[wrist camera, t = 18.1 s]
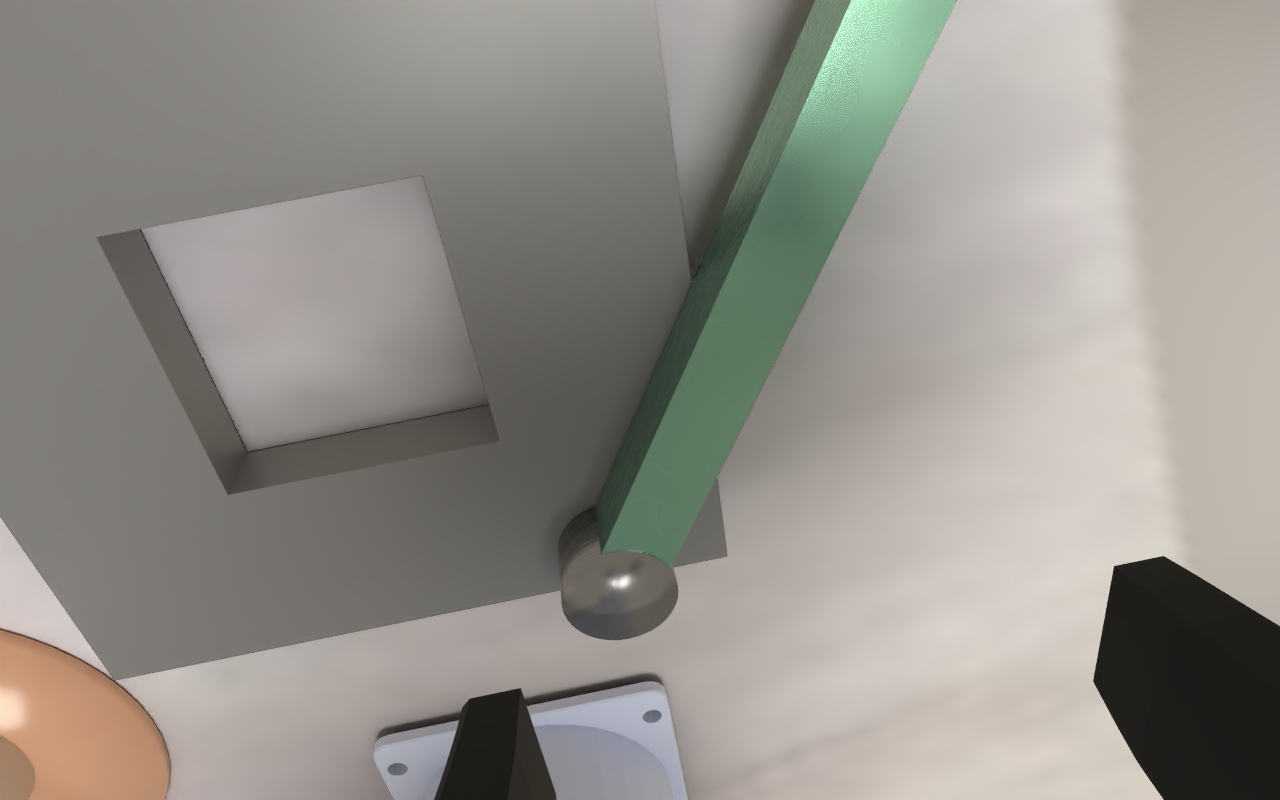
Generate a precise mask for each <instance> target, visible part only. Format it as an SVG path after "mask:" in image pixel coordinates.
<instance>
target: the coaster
mask: <svg viewBox="0 0 1280 800" xmlns="http://www.w3.org/2000/svg"><path fill="white" fill-rule="evenodd" d="M0 735H1V736H3V737H5V738H7V739H8V740H9V741H11V742H12V743H14V744H15V745H16V746H17V747H19V748H20V749H21V750H22V751H23V752H24V753H25V755H26V756H27V757H28V758H29V760H30V762H31V763H32V765H33V768H34V771H35V776H36V780H35V786H34V790H33V792H32V793H31V795H30V797H29V799H28V800H165V797H166V794H167V791H168V788H169V781H170V763H169V756H168V752H167V749H166V746H165V743H164V741H163V738H162V736H161V734H160V732H159V731H158V729H157V727H156V726H155V724H154V722H153V720H152V719H151V718H150V717H149V716H148V714H147V713H146V712H145V711H144V709H143V708H142V707H141V706H140V704H139V703H137V702H136V701H135V700H134V699H133V698H132V697H131V696H130V695H129V694H128V693H127V692H126V691H125V690H124V689H123V688H121V687H120V686H119V685H117V684H116V683H114V682H113V681H112V680H110V679H109V678H108V677H106V676H105V675H104V674H102V673H101V672H99V671H97V670H96V669H94V668H92V667H91V666H89V665H87V664H85V663H84V662H82V661H80V660H79V659H77V658H74V657H72V656H70V655H68V654H66V653H64V652H62V651H60V650H57V649H55V648H53V647H51V646H48V645H45V644H43V643H40V642H37V641H35V640H32V639H29V638H26V637H24V636H20V635H17V634H13V633H10V632H6V631H2V630H0Z"/></svg>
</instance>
